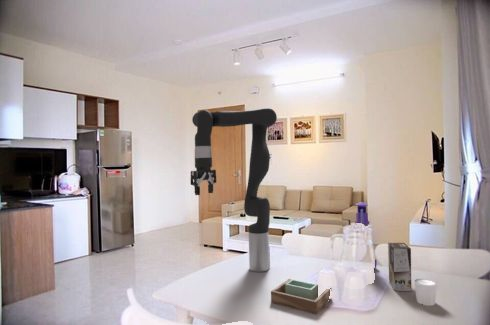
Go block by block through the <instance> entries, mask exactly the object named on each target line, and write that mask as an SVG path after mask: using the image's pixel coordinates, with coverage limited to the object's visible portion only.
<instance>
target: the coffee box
mask: <svg viewBox="0 0 490 325" xmlns="http://www.w3.org/2000/svg"><path fill="white" fill-rule="evenodd" d="M387 248H388V251H387V255H388V283H389V284H390V286H391V288H392V289H393V290H394V291H399V292H412V248H411V247H410V246H409V245H407V244H406V243H405V242H388V243H387Z"/></svg>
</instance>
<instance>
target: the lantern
mask: <svg viewBox="0 0 490 325" xmlns="http://www.w3.org/2000/svg"><path fill="white" fill-rule="evenodd" d="M355 206H357V212H356V217H355V221H354V224H356V223H362V224H364V225H365V226H368V227H369V225H370V223H371V222H370V220H369V215H368V212H367V206H369V204H368V203H366V202H363V201H359V202H358V203H355ZM377 261H378V260H377V259H376V258H375V269H376V268H377V264H378V263H377Z"/></svg>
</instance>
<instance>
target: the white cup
mask: <svg viewBox="0 0 490 325" xmlns="http://www.w3.org/2000/svg"><path fill="white" fill-rule="evenodd" d="M414 286H415V294H416V302H417V303H418V304H420V305H422V304H423V306H427V307H433V306H436V299H437V290H438V289H437V288H438V284H437V282H436V281H435V280H433V279H432V280H431V279H428V278H417V279H414Z"/></svg>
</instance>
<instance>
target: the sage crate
mask: <svg viewBox="0 0 490 325" xmlns="http://www.w3.org/2000/svg"><path fill="white" fill-rule="evenodd" d="M318 285H319V284H316V283H313V282H307V281H301V280H297V279H293V278H292V280H290V281H289V282H288V283H286V284H285V292H286V294H290V295H294V296H298V297H302V298H307V299H311V300H315V299H316V298H318Z"/></svg>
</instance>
